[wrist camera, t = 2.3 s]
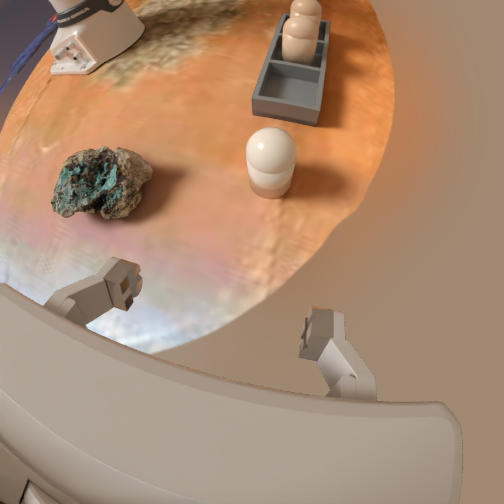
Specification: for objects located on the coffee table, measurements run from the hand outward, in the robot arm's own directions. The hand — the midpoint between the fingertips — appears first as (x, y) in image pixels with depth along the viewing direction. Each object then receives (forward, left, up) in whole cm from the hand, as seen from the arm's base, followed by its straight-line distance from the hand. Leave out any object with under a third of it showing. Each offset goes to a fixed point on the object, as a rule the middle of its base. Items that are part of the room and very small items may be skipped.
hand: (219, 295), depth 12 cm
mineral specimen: (-18, +8, -15) cm, 25 cm away
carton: (0, +31, -14) cm, 35 cm away
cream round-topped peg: (0, +12, -14) cm, 19 cm away
